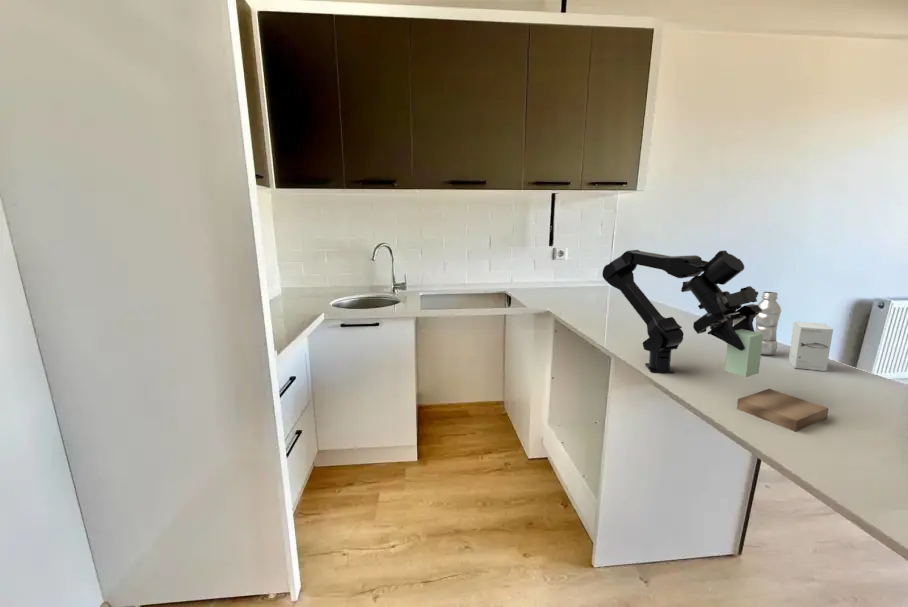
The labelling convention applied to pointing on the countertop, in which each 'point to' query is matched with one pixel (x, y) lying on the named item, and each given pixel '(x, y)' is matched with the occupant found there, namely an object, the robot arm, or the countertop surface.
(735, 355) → the sage block
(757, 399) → the walnut plinth
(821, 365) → the supplement box
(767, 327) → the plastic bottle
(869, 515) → the countertop surface
